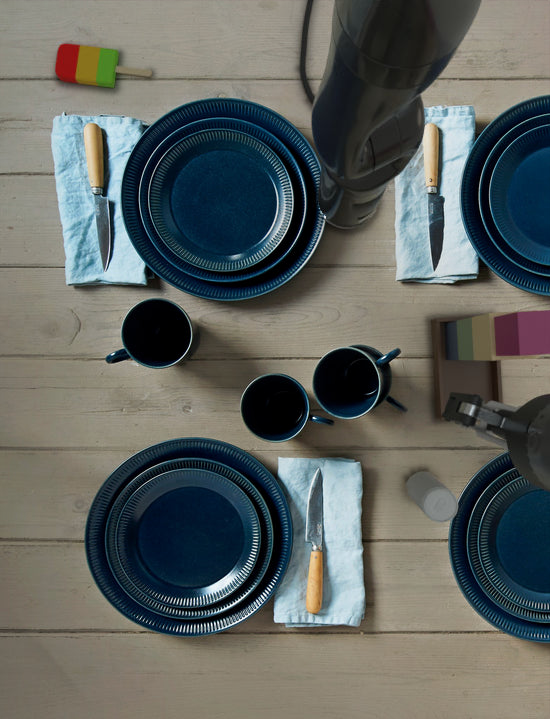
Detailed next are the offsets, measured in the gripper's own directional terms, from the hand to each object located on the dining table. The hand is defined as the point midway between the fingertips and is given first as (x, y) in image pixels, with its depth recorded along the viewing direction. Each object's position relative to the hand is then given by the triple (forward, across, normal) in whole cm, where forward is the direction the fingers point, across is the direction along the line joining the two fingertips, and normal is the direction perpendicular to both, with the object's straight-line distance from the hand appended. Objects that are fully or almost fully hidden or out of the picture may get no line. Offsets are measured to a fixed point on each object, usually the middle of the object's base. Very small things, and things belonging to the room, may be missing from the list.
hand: (502, 429), depth 55 cm
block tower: (+32, -1, -12) cm, 34 cm away
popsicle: (+29, +67, -32) cm, 80 cm away
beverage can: (+33, -3, +11) cm, 35 cm away
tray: (+32, -2, -9) cm, 33 cm away
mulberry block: (+11, -1, -11) cm, 16 cm away
